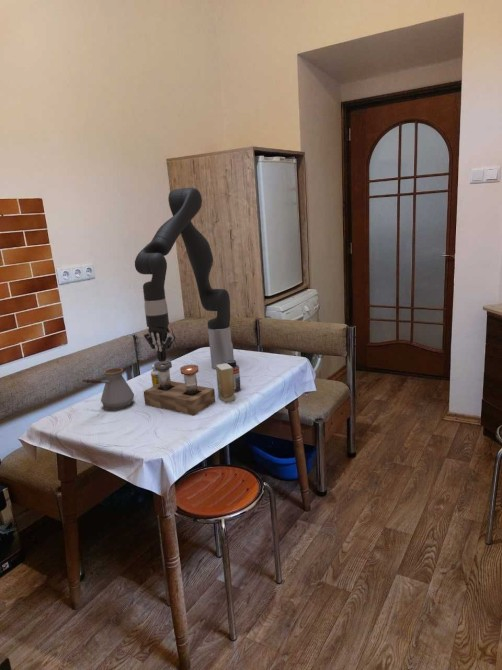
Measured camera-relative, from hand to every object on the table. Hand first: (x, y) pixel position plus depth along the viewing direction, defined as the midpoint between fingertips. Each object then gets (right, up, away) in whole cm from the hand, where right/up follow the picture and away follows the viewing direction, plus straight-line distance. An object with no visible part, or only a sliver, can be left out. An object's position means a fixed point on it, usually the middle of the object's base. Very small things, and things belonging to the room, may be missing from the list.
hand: (162, 360), depth 166 cm
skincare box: (+22, -14, +2) cm, 26 cm away
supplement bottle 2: (+24, -11, +10) cm, 28 cm away
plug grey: (+1, -10, +3) cm, 11 cm away
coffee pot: (-18, -17, -1) cm, 25 cm away
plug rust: (+11, -11, -4) cm, 16 cm away
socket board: (+6, -15, +1) cm, 16 cm away
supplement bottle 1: (-4, -12, +16) cm, 20 cm away
